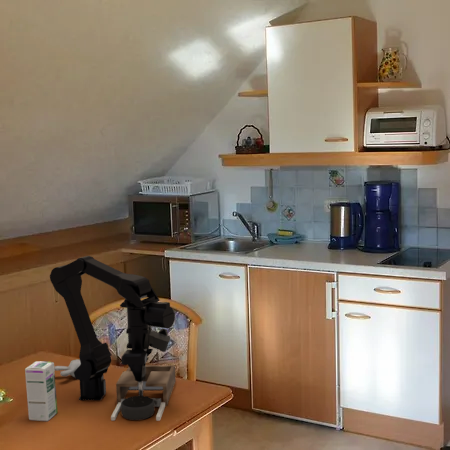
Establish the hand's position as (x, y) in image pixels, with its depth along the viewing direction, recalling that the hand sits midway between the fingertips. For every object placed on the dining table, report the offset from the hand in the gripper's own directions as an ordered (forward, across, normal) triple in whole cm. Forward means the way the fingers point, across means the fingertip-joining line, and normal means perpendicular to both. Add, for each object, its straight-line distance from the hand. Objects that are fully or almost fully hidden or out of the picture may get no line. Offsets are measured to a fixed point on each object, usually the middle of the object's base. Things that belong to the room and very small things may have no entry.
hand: (140, 379), depth 188 cm
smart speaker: (+8, -5, 0) cm, 10 cm away
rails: (+8, -4, 0) cm, 9 cm away
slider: (+8, 0, 0) cm, 8 cm away
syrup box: (+8, -7, +26) cm, 28 cm away
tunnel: (+8, +10, 0) cm, 13 cm away
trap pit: (+8, +16, 0) cm, 18 cm away
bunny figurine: (+8, +24, +23) cm, 35 cm away
